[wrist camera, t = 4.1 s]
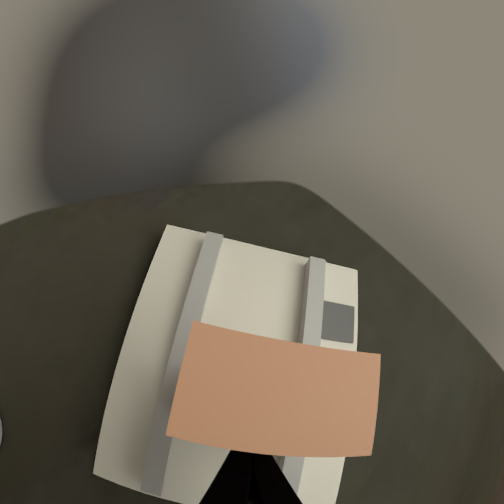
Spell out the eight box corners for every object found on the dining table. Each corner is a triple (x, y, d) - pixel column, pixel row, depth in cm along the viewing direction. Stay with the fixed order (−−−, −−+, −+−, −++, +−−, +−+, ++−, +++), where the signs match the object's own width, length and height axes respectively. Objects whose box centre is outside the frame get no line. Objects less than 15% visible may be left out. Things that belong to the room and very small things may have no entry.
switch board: (322, 506, 11) (340, 517, 9) (101, 468, 10) (86, 477, 8) (347, 279, 19) (364, 263, 17) (169, 237, 19) (166, 214, 17)
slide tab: (272, 445, 12) (365, 483, 4) (185, 430, 11) (159, 467, 4) (284, 374, 14) (380, 325, 6) (201, 358, 14) (201, 288, 6)
